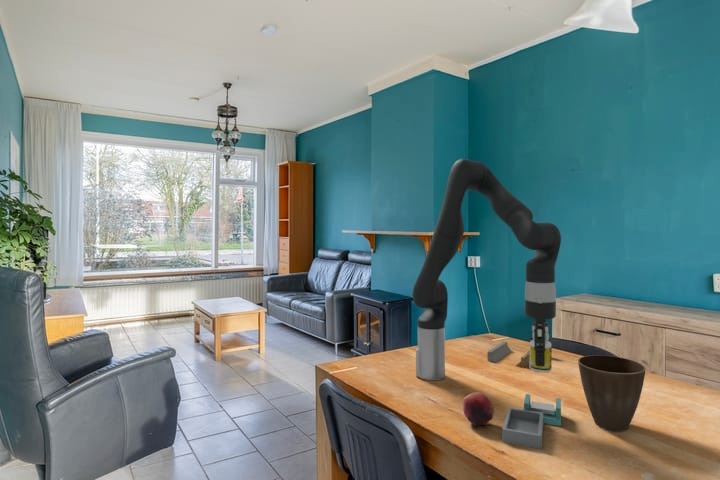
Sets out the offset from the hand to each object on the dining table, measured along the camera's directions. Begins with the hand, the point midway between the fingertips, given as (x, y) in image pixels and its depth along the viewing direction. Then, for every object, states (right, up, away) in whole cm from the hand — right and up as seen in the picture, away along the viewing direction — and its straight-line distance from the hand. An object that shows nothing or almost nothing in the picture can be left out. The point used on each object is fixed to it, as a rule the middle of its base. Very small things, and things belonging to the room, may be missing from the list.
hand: (540, 362), depth 114 cm
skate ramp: (+17, -15, +51) cm, 55 cm away
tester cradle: (+1, -15, +2) cm, 15 cm away
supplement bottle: (0, -2, 0) cm, 2 cm away
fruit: (-17, -16, -2) cm, 23 cm away
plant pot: (+17, -15, -3) cm, 23 cm away
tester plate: (+1, -13, +2) cm, 13 cm away
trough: (-7, -16, -7) cm, 18 cm away
